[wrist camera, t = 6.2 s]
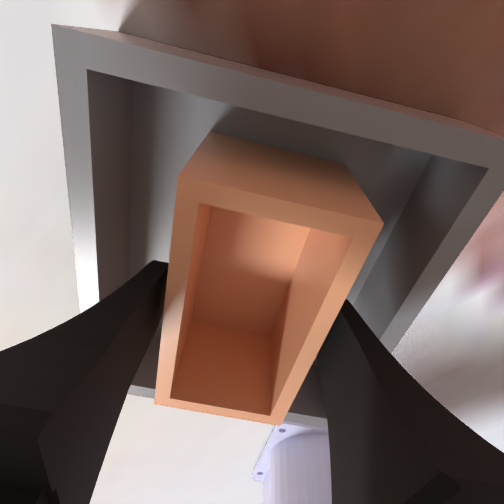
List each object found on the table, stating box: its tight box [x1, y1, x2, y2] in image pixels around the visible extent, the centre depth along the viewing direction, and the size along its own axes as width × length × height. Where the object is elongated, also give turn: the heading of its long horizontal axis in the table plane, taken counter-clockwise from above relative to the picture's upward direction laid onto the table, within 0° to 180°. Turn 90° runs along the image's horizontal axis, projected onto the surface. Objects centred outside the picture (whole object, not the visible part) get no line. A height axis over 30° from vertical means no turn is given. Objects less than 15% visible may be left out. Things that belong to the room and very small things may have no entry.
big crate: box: [51, 24, 504, 428], centre depth 14 cm, size 15×13×4 cm
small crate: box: [154, 131, 384, 426], centre depth 13 cm, size 10×5×5 cm, turn 167°
